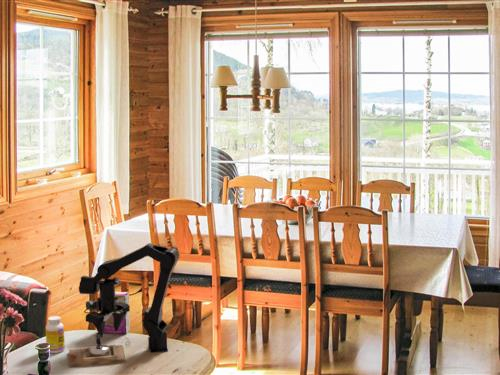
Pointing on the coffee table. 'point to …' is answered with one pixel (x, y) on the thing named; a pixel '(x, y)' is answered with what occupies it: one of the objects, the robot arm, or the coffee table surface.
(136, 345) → the coffee table surface
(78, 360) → the board
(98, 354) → the crank wheel
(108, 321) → the candy bar box
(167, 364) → the coffee table surface
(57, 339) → the supplement bottle
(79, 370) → the coffee table surface
